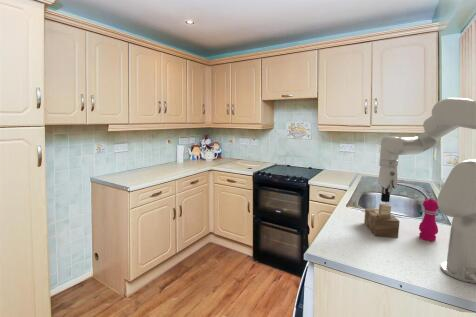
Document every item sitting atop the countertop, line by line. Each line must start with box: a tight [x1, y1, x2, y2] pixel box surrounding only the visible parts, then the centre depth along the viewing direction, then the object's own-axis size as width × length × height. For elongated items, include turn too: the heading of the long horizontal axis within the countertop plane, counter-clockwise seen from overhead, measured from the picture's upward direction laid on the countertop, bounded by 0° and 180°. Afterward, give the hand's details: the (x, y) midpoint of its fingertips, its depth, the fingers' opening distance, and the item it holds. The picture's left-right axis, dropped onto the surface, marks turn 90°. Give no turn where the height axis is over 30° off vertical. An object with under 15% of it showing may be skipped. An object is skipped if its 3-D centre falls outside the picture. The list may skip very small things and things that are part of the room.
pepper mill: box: [418, 195, 440, 242], centre depth 124 cm, size 7×7×20 cm
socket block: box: [363, 208, 400, 238], centre depth 134 cm, size 16×10×8 cm, turn 172°
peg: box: [378, 202, 392, 219], centre depth 130 cm, size 4×4×8 cm
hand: (385, 201), depth 129 cm, fingers closed
